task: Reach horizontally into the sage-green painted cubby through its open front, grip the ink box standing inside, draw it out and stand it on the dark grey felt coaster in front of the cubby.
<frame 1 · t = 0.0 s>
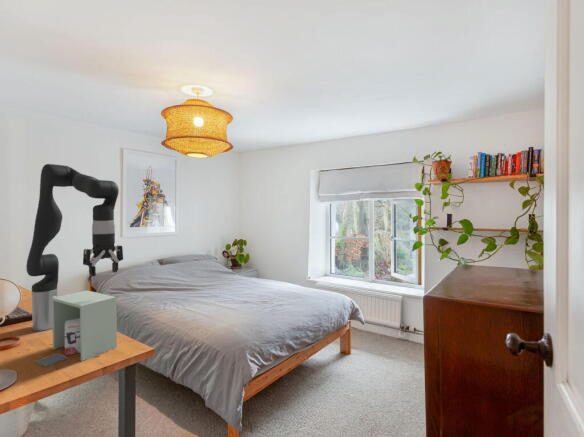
hand: (104, 274, 125), 29 cm above the table, tool pointing down, fingers open, 8 cm apart
coaster: (51, 360, 116), on the table
cubby: (85, 348, 127), on the table
ink box: (78, 351, 124), on the table
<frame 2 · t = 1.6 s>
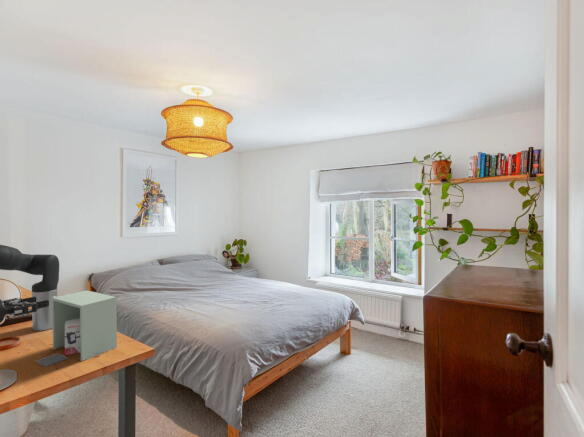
hand: (42, 301, 113), 22 cm above the table, tool horizontal, fingers open, 8 cm apart
nothing on the table moved.
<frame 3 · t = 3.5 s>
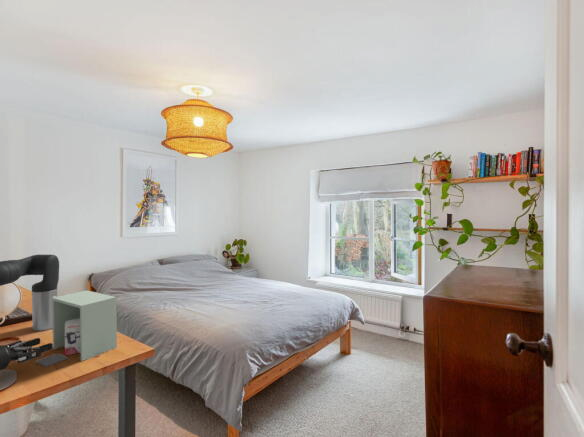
hand: (45, 343, 115), 7 cm above the table, tool horizontal, fingers open, 8 cm apart
nothing on the table moved.
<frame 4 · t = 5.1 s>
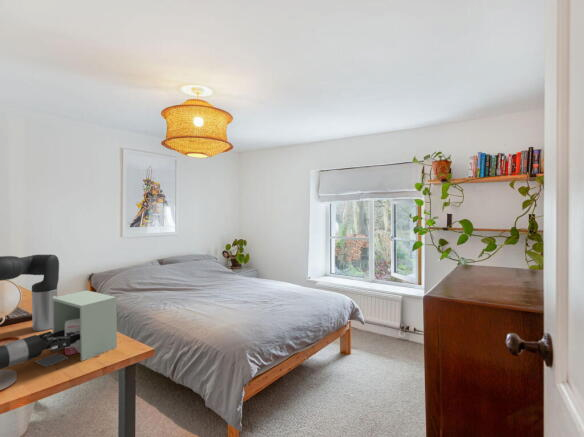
hand: (73, 334, 123), 7 cm above the table, tool horizontal, fingers open, 8 cm apart
nothing on the table moved.
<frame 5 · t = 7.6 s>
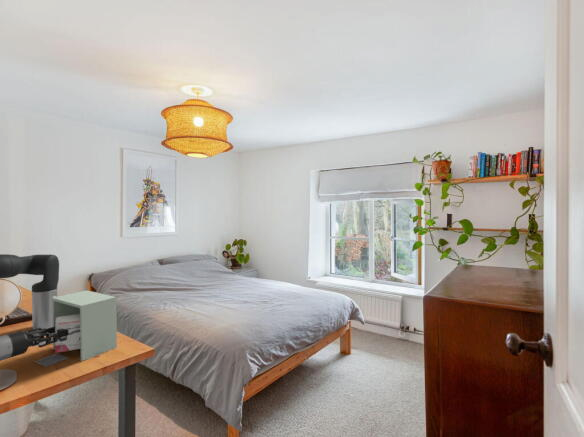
hand: (62, 330, 119), 10 cm above the table, tool horizontal, fingers closed on ink box, 6 cm apart
ink box: (69, 349, 120), point 2 cm above the table, touching gripper
when the fingers open (8 cm above the table, at t = 9.4 s): ink box stays where it is, resting on coaster.
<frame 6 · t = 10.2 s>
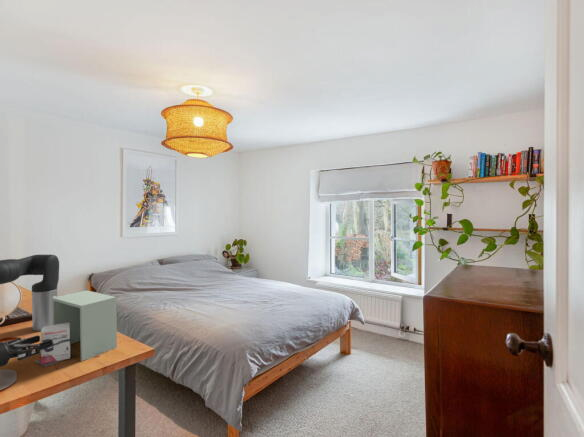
hand: (45, 340, 114), 8 cm above the table, tool horizontal, fingers open, 8 cm apart
ink box: (56, 359, 117), resting on coaster
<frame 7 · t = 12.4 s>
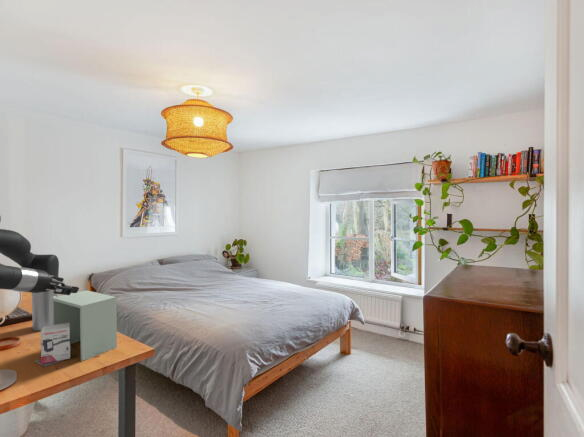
hand: (69, 285, 120), 26 cm above the table, tool tilted 70°, fingers open, 8 cm apart
nothing on the table moved.
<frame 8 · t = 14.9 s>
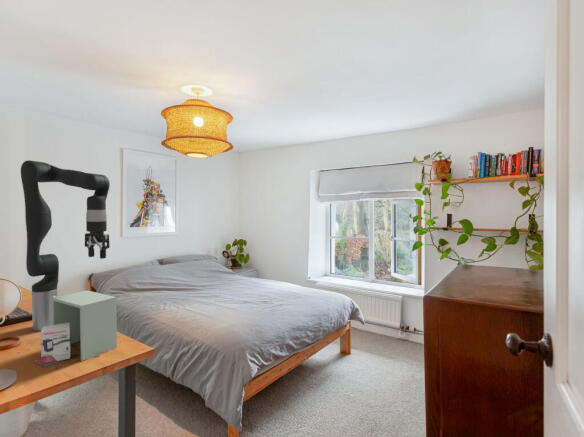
hand: (97, 257, 141), 33 cm above the table, tool pointing down, fingers open, 8 cm apart
nothing on the table moved.
at the end: ink box inside the target area (2.7 cm from its centre), on the table; ink box 1.4 cm from the coaster (horizontally); ink box tilted 0° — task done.
